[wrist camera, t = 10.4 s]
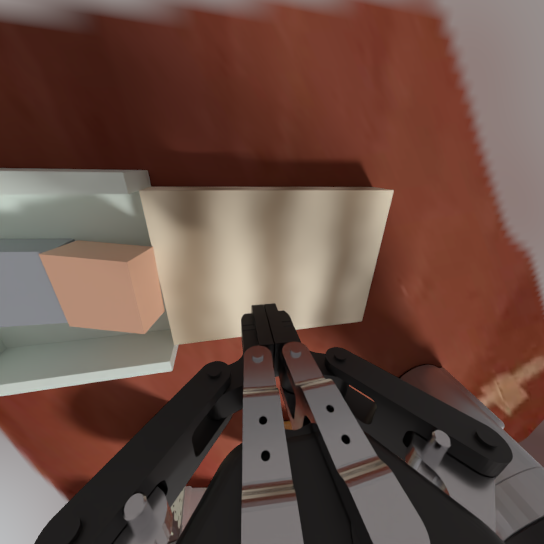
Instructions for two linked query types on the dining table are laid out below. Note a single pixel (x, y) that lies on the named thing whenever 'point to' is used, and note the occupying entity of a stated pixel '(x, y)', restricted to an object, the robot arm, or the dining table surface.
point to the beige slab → (263, 254)
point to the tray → (80, 226)
